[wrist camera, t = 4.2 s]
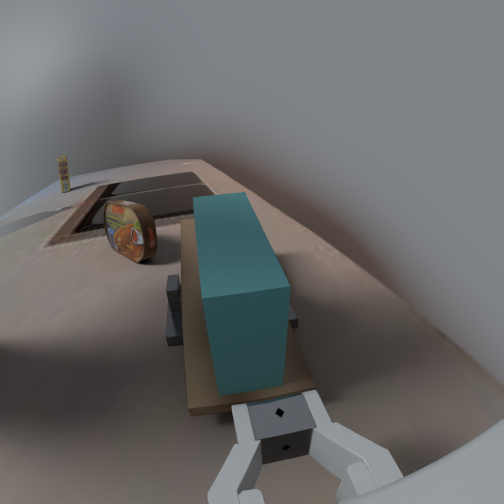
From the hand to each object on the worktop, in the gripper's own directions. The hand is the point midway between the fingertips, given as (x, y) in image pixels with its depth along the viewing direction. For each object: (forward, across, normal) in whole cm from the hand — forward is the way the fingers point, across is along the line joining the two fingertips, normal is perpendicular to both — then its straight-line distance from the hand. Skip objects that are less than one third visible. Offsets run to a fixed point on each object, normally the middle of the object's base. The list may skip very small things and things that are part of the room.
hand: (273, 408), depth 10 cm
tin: (+40, +13, +9) cm, 43 cm away
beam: (+19, 0, +6) cm, 20 cm away
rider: (+12, 0, +5) cm, 13 cm away
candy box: (+124, +59, +10) cm, 137 cm away
